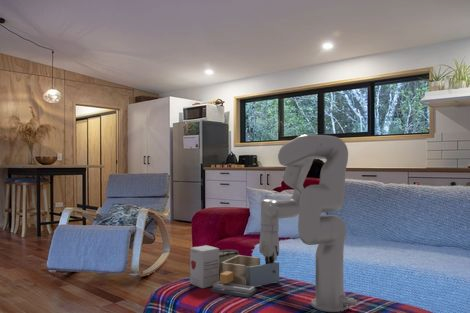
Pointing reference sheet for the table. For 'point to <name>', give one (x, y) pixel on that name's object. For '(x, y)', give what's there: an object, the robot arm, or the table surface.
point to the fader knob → (226, 277)
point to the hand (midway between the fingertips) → (269, 271)
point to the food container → (226, 255)
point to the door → (262, 274)
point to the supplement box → (204, 266)
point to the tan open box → (239, 267)
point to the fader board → (234, 289)
